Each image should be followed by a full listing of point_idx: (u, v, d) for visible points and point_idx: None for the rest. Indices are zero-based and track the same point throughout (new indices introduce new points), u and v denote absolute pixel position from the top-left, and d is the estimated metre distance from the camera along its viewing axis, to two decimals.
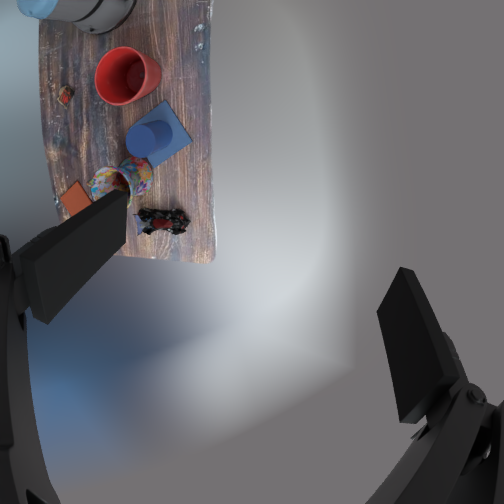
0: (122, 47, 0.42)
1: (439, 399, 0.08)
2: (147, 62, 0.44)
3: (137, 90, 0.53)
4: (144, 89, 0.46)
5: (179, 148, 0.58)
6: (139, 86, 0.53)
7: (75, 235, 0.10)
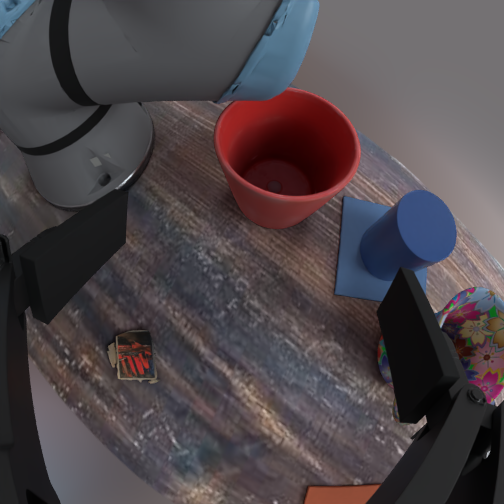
0: None
1: (439, 399, 0.08)
2: None
3: None
4: None
5: None
6: None
7: (75, 236, 0.10)
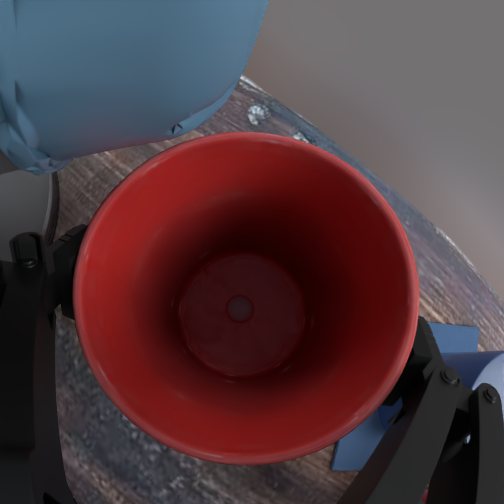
0: (145, 166, 0.10)
1: (414, 380, 0.09)
2: None
3: (266, 362, 0.17)
4: None
5: None
6: (262, 346, 0.17)
7: None
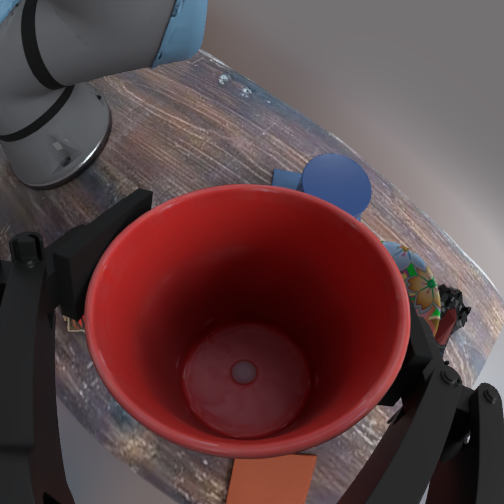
0: (161, 207, 0.13)
1: (414, 380, 0.09)
2: None
3: (272, 422, 0.15)
4: None
5: None
6: (267, 407, 0.15)
7: (106, 234, 0.11)
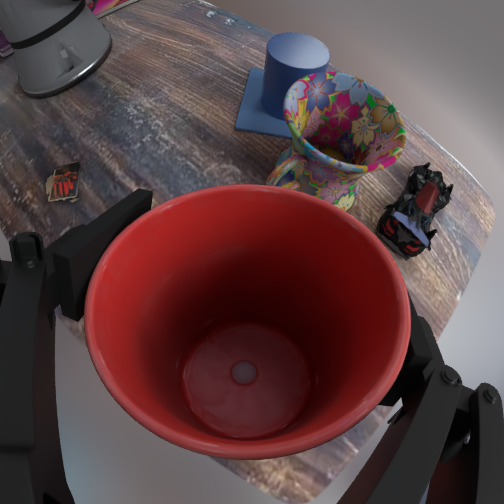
0: (161, 207, 0.13)
1: (414, 380, 0.09)
2: None
3: (273, 423, 0.15)
4: None
5: None
6: (267, 408, 0.15)
7: (106, 233, 0.11)
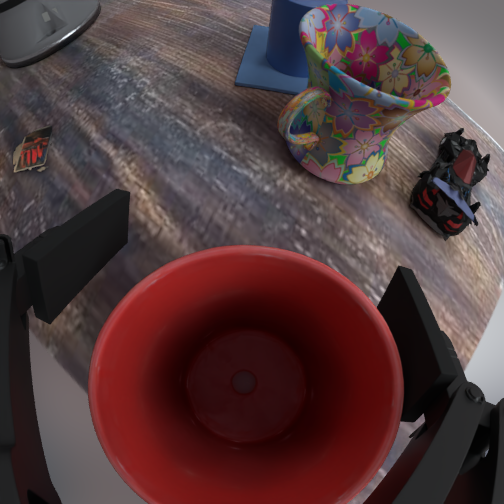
0: (145, 283, 0.11)
1: (437, 397, 0.08)
2: None
3: (270, 429, 0.17)
4: None
5: None
6: (265, 415, 0.17)
7: (77, 235, 0.10)
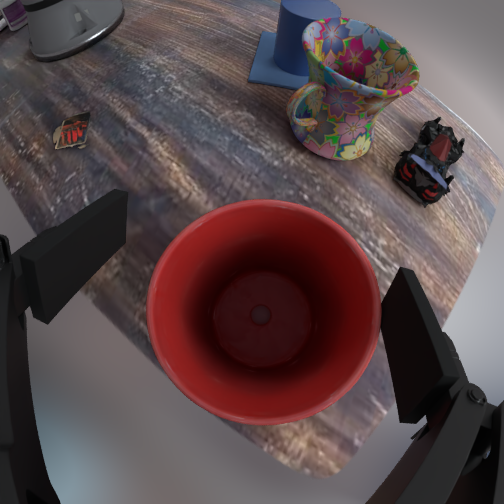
0: (193, 225, 0.15)
1: (439, 399, 0.08)
2: None
3: (280, 356, 0.22)
4: None
5: None
6: (277, 344, 0.22)
7: (75, 235, 0.10)
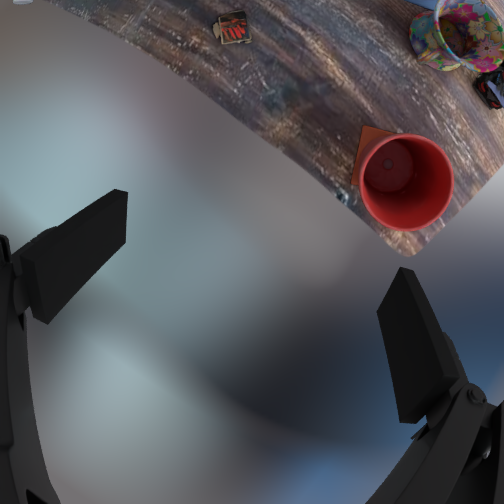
0: (382, 143, 0.28)
1: (439, 399, 0.08)
2: None
3: (395, 187, 0.38)
4: None
5: None
6: (394, 180, 0.38)
7: (75, 236, 0.10)
